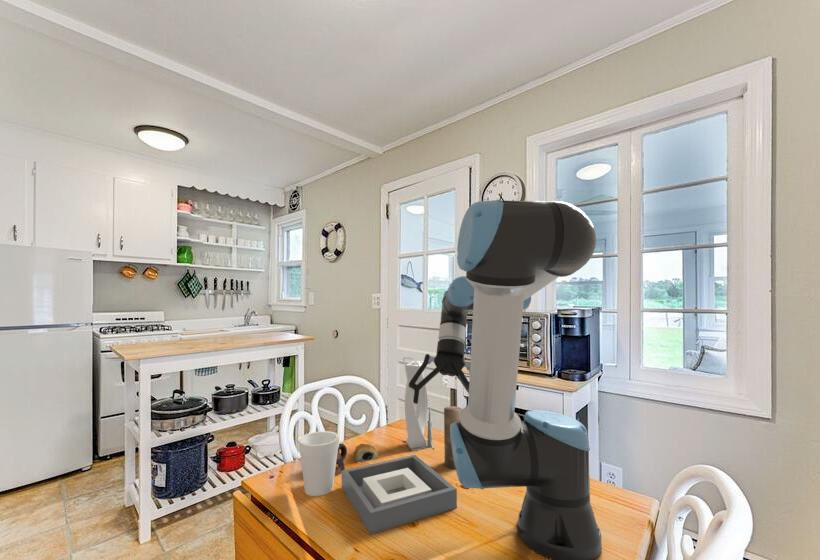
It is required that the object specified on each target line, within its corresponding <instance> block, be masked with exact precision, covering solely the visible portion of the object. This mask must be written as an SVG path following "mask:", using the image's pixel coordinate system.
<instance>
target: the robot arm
mask: <svg viewBox="0 0 820 560" xmlns="http://www.w3.org/2000/svg"><path fill="white" fill-rule="evenodd" d="M464 213H465V214H464V215H463V218H462V220H461V225H460V227H459V233H458V239H457V247H456V252H457V257H456V259H457V260H456V261H457V266H458V268H459V269H460V270H462V271H464V272H466V273H465V276H463V275H462V276H458V277H456V278H455V279H454V280H452V282H451V283H450V285H449V286H448V288H447V290H445V291H444V292H443V296H442V301H441V313H440V322H439V331H438V341H437V344H436V345H437V346H436V355H435V356H431V355H430V354H429V353H427V354H425V356H424V359H423V361H424V362H421V363H422V365H421V366H420V368H419V369H418V371H417V372H416V374H415V375H414V377H413V378H412V379H411V381H410V382H409V387H410V388H412V389H414V399H413V402H414V403H415V404H417V409H416V416H415V418H419V413H420V405H421V398H422V391H421V390H420V389H421V388H422V387H423V386H424V385H425V386H426V385H427V384H428V383H429V382H430V381H432V379H433V378H435V377H436V376H437V375H438V374H441V375H442V376H449V377H452V378H453V377H456V378H457V379H458V380H459V382H460V383H461V384H462V386H463V388H464V389H465V390H466V392H467V394H468V399H467V400H468V401H467V405H466V406H465V407H463V408H462V411H461V412H460V417H459V423H458V422H455V423H452V424H451V425H450V438H451V446H452V452H453V458H454V463H455V468H456V469H455V471H456V476H457V478H458V482H459V483H460V485H461V486H462V487H464V488H467V489H476V490H477V489H480V490H484V489H498V488H500V489H501V488H516V487H517V488H518V487H519V488H520V487H521V488H522V487H525V488H526V489H525V494H524V498H523V501H522V504H521V508H520V511H519V513H518V516H517V517H518V518H517V530H518V536H519V537H520V539H521V540H522V541H523V542H522V543H524V544H525V545H526V546H527V547H528V548H529V549H531V550H532V551H533V552H535V553H537V554H538V555H540V556H542V557H544V558H547V559H549V558H550V559H549V560H552V559H553V560H595V559H596V558H598V557H599V556H600V554H601V553H602V552H601V551H602V548H603V547H602V546H603V545H602V543H603V542H602V532H601V529H600V527H599V525H598V524H597V520H596V517H595V513H594V510H593V507H592V504H591V494H590V493H591V490H590V489H591V488H590V487H591V484H590V482H591V481H590V479H591V478H590V450H591V447H590V443H589V436H588V435H589V434H588V430H587V428H586V426H585V425H584V424H583V423H582V422H580V421H579V420H577V419H575V418H573V417H572V416H571V417H570V416H568V415H566V414H561V413H559V412H558V413H557V412H554V411H548V410H542V409H531V410H528V411H526V412H525V413H524V416H523V420H521V418H520V416H519V415H518V414H517V413H516V412H515V408H516V396H517V385H518V384H517V383H518V373H519V362H520V361H519V360H520V351H521V349H520V348H521V340H522V339H521V337H522V325H523V315H524V314H523V313H524V310H526V309H528V308H529V307H530V304H531V303H532V296H533V295H535V294H536V293H538V292H539V291H541V290H542V289H544V288H545V287H547V286H548V285H549V284H551V283H552V282H554V281H555V280H557V279H558V278H562V277H565V278H566V277H568V276H572V275H573V274H575V273H576V272H578V271H579V270H580V269H581V268H583V267H584V266H585V265H587V263H588V262H589V261H590V259H591V258H592V256H593V255H594V252H595V249H596V245H597V237H596V236H597V235H596V230H595V227H594V225H593V223H592V221H591V219H590V218H589V217H588V216H587V215H586V213H585V212H584V211H583V210H581V209H580V208H579V207H577V206H575V205H573V204H571V203H568V202H564V201H560V200H559V201H558V200H549V201H548V200H547V201H545V200H543V201H540V200H501V199H495V200H481V201H476V202H473V203H472V204H471V205H470V206H469V207H468V208H467V210H466V211H465V212H464ZM470 311H472V324H471V326H472V327H471V342H470V343H471V344H470V360H469V361H465V359H464V357H465V345H466V344H465V342H466V334H467V333H466V332H467V331H466V330H467V318H468V313H469V312H470ZM432 362H433V363H434V365H435V368H434V369H433V370H432V371H431V372H430V373H428V374H427V375H426V376H424V379H423V380H422V381H421V382H420V383H419V384H417V385H416V384H415V383H416V381H417V380H418V378H419V377H420V375H421V374H422V372H423V371H424V369H425V368H426V369H427V367H428V365H431V364H432ZM464 367H465V368H466V370H467V371H468V372H469V377H468V378H469V379H468V378H467V377H466V375H465V373H464V371H463V368H464Z"/></svg>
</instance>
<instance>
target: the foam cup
mask: <svg viewBox="0 0 820 560" xmlns="http://www.w3.org/2000/svg"><path fill="white" fill-rule="evenodd" d="M339 444H340V436H339V434H338V433H336V432H334V431H327V430H322V431H318V430H317V431H313V432H310V433H309V432H308V433H306V434H303V435H302V436H301V437H300V438H299V439H298V452H299V454H300V455H299V456H300V461H301V463H300V464H301V470H302V479H303V486H304V492H305V494H307V495H308V496H311V497H321V496H325V495H327V494H329V493H331V491H333V488H334V483H335V477H336V476H335V470H336V469H337V468H336V467H337V464H336V460H337V453H338V448H339Z"/></svg>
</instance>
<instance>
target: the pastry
mask: <svg viewBox="0 0 820 560" xmlns="http://www.w3.org/2000/svg"><path fill="white" fill-rule="evenodd" d="M353 454H354V456H355V461H357V462H361V463H364V462H370V461H374V460H375V461H376V460H377V459H378V457H379V453H378V450H377V449H376V448H375V445H374V446H373V445H371V444H368V443H359V444H358V445H357V446H356V447H355V449H354V452H353ZM357 462H356V463H357Z"/></svg>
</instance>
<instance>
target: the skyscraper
mask: <svg viewBox="0 0 820 560" xmlns="http://www.w3.org/2000/svg"><path fill="white" fill-rule="evenodd" d="M405 359H406V360H411V362H410V363H407V364H406V360H405ZM402 360H403V365H404V371H405V375H406V385H405V393H404V414H405V423H406V424H405V425H406V432H407V437H406V441H405V444H406V446H407V447H408V449H409V450H410V451H411V452H415V451H421V450H425V449H432V450H435V448H434V441H433V439H434V438H433V436H434V435H433V420H432V412H431V407H429V408H428V406H429V404H428V402H429V399H428V391H427V386H426V385H424V386H423V387H422V388H421V389H420V390H421V391H422V398H421V405H420V413H419V418H415V416H416V409H417V404H415V403H414V402H413V399H414V389H412V388H410V387H409V382H410V381H411V379H412V378H413V377H414V375H415V374H416V372H417V371H418V369H419V368H420V366H421V365H422V363H423V362H424V360H420V359H418V360H417V359H414V358H412V357H409V356H406V357H405V356H404V357H403V358H402ZM426 370H427V367H426V368H425V369H424V371H423V372H422V374H421V375H420V377H419V378H418V380H417V381H416V383H415V384H416V385H417V384H419V383H420V382H421V381H422V380H423V379H424V378H425V377H426V376H425V375H426ZM428 411H429V412H428ZM427 418H428V421H427ZM426 426H427V436H426V437H427V439H425V435H424V434H425V431H426Z"/></svg>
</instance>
